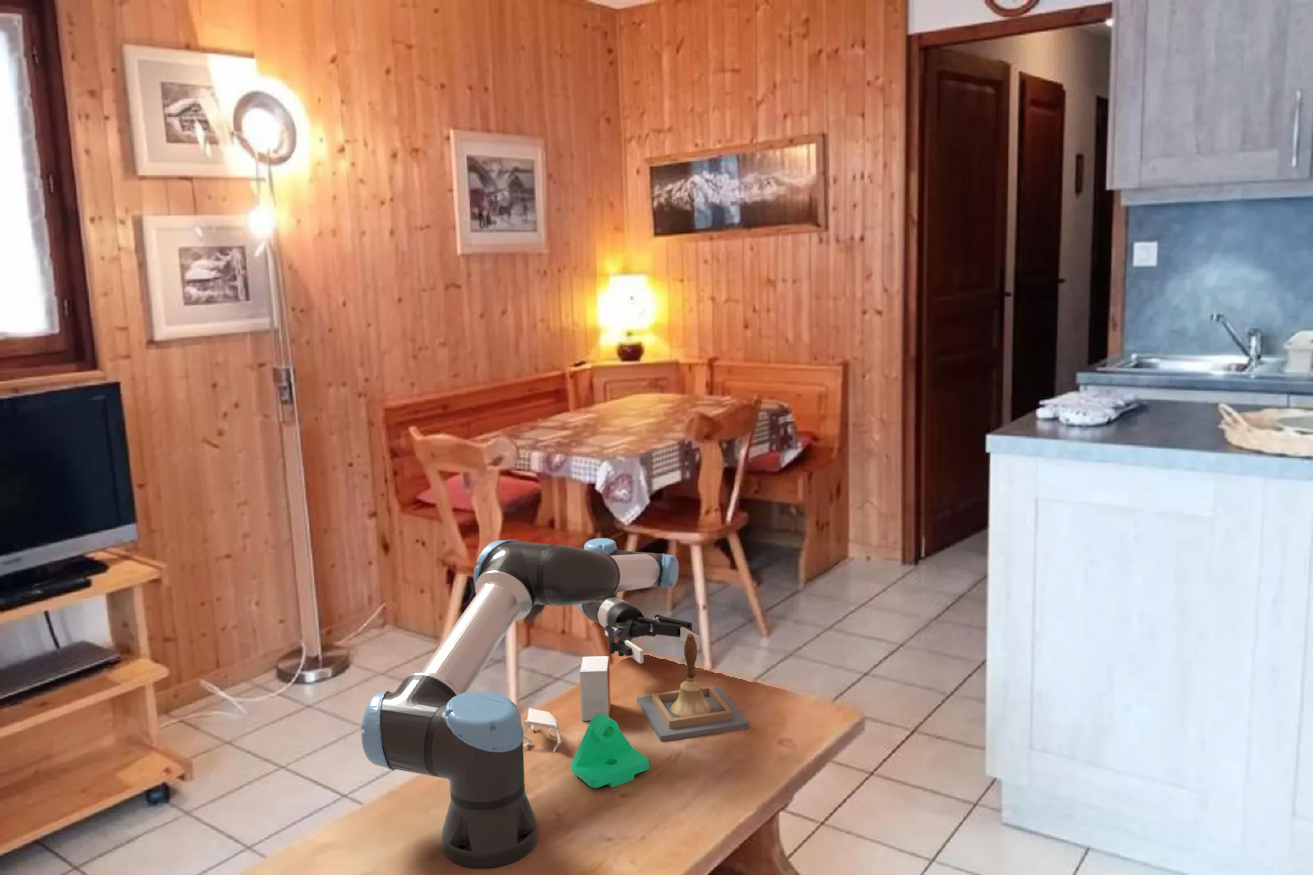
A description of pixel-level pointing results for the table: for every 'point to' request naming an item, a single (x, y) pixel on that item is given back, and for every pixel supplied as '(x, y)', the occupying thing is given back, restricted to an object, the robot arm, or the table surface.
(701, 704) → the hand bell
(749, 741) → the table surface
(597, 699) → the small box
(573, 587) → the robot arm
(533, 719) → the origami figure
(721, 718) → the bell board
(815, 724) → the table surface
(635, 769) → the camera mount
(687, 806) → the table surface
